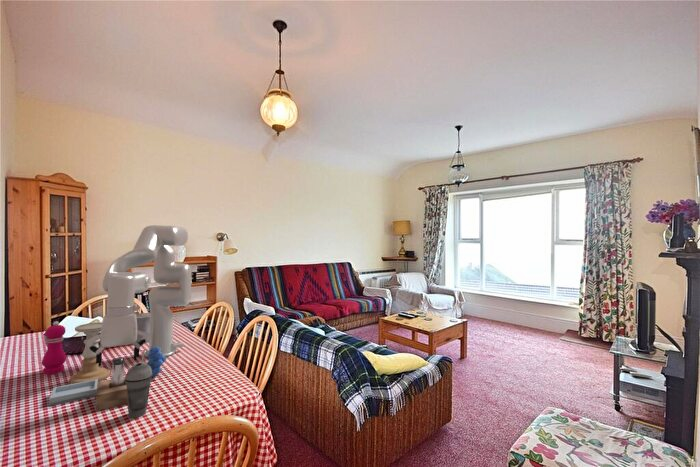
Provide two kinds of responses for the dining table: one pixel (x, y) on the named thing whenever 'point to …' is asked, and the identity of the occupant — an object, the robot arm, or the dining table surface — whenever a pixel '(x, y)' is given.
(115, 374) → the pin
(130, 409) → the beverage cup
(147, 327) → the pillar candle
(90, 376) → the candle holder
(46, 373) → the pepper mill
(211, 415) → the dining table surface
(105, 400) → the block
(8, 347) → the dining table surface
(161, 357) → the grapes
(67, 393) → the dish
